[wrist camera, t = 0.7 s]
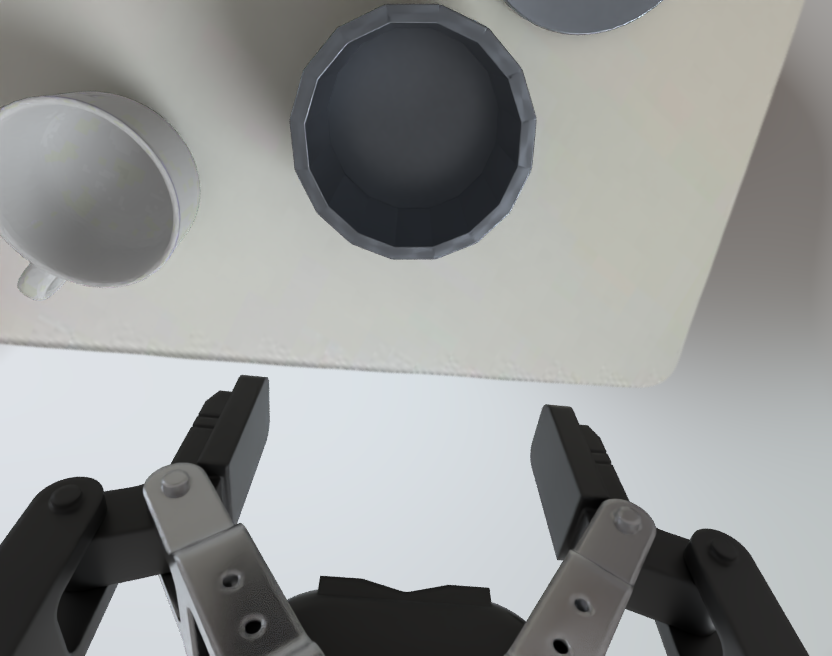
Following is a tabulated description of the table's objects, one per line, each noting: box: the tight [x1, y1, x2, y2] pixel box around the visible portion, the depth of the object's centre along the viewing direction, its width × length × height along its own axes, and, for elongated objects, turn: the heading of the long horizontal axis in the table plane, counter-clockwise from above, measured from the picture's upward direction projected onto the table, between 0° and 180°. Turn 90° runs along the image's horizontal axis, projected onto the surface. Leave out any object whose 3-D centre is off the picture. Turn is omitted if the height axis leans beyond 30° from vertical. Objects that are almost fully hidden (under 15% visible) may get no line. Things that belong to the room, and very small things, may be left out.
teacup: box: [0, 91, 200, 301], centre depth 33 cm, size 14×11×8 cm
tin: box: [290, 4, 536, 259], centre depth 31 cm, size 13×13×8 cm
